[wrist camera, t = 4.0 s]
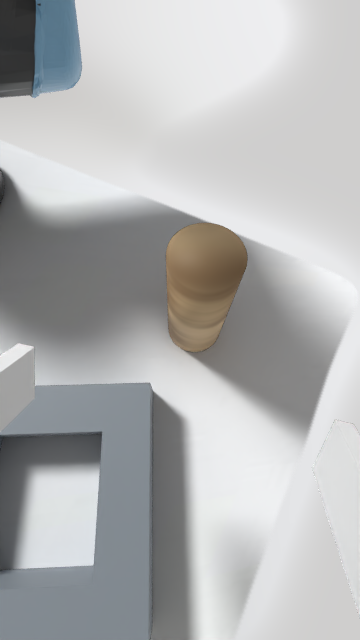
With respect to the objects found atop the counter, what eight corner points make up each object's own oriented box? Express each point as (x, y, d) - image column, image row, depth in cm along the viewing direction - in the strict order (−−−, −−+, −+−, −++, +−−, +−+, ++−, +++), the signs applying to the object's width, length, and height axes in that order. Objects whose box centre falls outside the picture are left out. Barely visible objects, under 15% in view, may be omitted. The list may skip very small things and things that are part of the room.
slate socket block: (-31, 395, 27) (-59, 388, 23) (152, 390, 27) (150, 382, 24) (-88, 638, 20) (-137, 674, 17) (152, 625, 21) (148, 657, 18)
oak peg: (167, 304, 31) (165, 223, 19) (217, 303, 31) (242, 222, 20) (168, 352, 29) (166, 291, 18) (221, 351, 29) (252, 290, 18)
